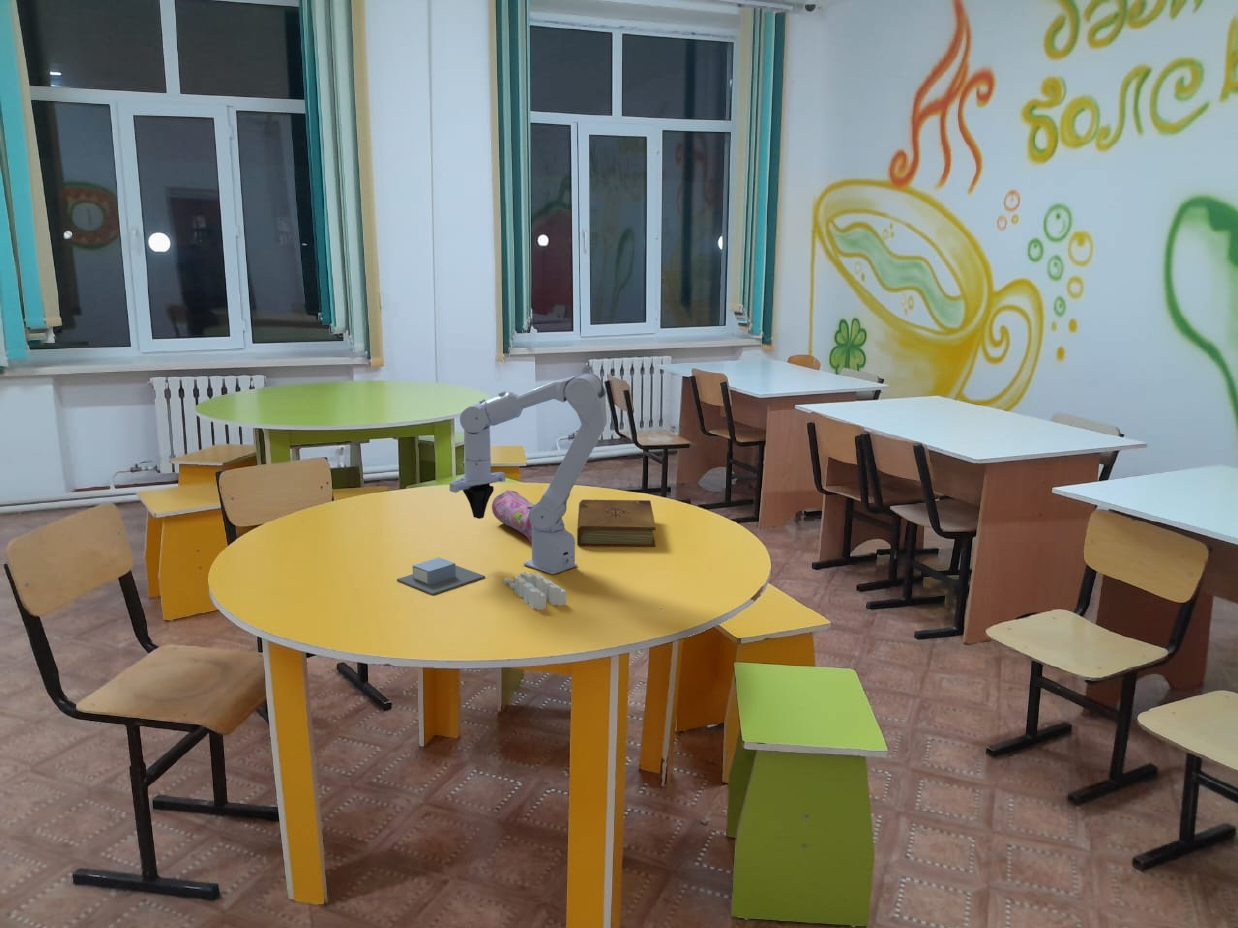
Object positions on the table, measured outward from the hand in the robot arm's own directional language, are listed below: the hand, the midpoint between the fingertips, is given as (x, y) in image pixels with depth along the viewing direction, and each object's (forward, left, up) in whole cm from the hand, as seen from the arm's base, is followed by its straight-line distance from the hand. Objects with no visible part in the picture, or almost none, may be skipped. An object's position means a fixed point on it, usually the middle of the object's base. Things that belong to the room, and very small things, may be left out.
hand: (478, 517), depth 203 cm
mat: (-4, +14, -10) cm, 18 cm away
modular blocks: (-24, +6, -10) cm, 27 cm away
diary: (-9, -37, -11) cm, 39 cm away
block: (-3, +12, -8) cm, 14 cm away
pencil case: (+8, -21, -10) cm, 25 cm away
